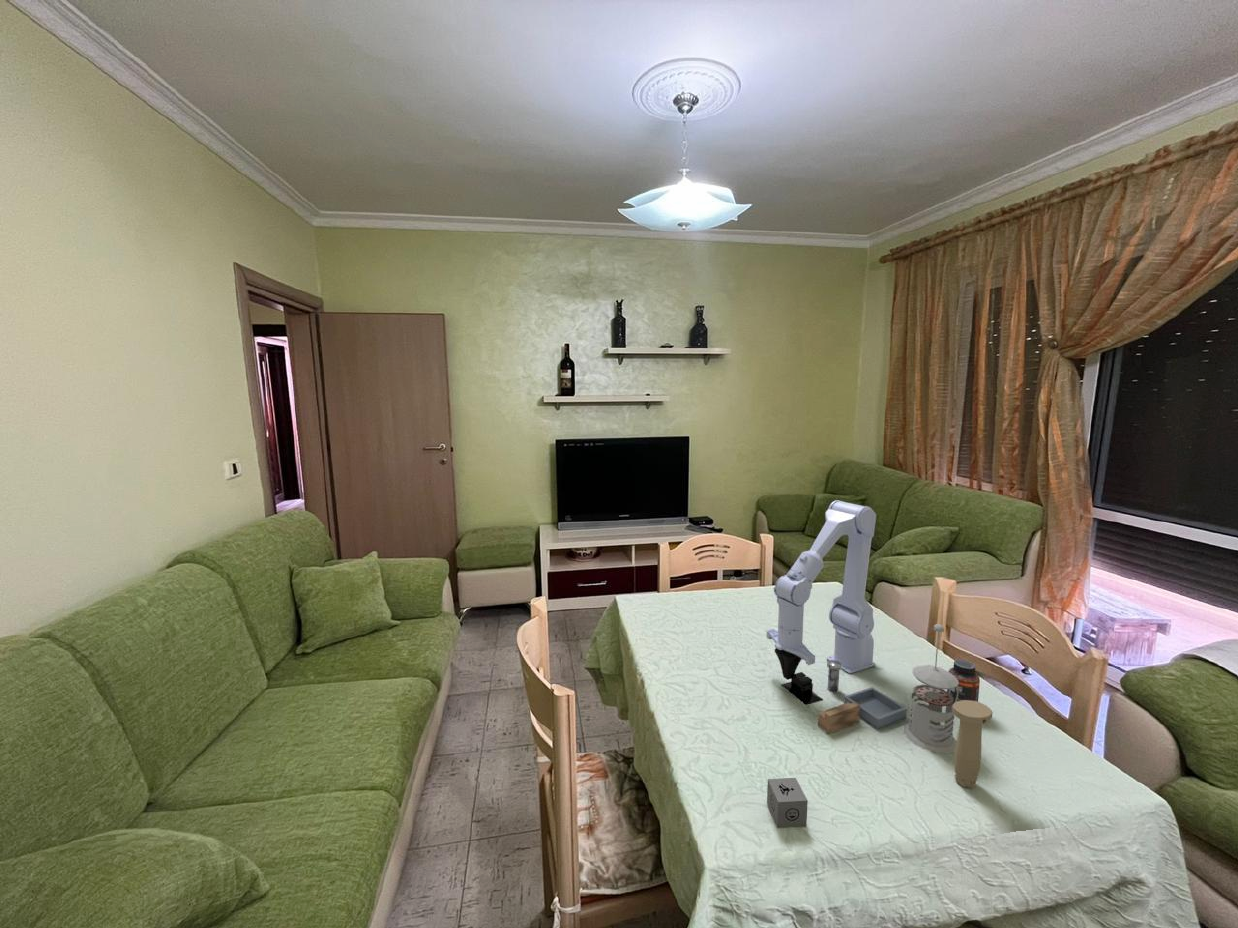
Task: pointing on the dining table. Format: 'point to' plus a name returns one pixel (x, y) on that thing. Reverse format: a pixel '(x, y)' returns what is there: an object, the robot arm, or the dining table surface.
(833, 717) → the bar
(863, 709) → the tray
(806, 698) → the build plate
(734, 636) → the dining table surface
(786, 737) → the dining table surface
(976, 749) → the handle
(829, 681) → the pin
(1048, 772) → the dining table surface
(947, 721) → the french press
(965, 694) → the supplement bottle
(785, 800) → the dice cube
